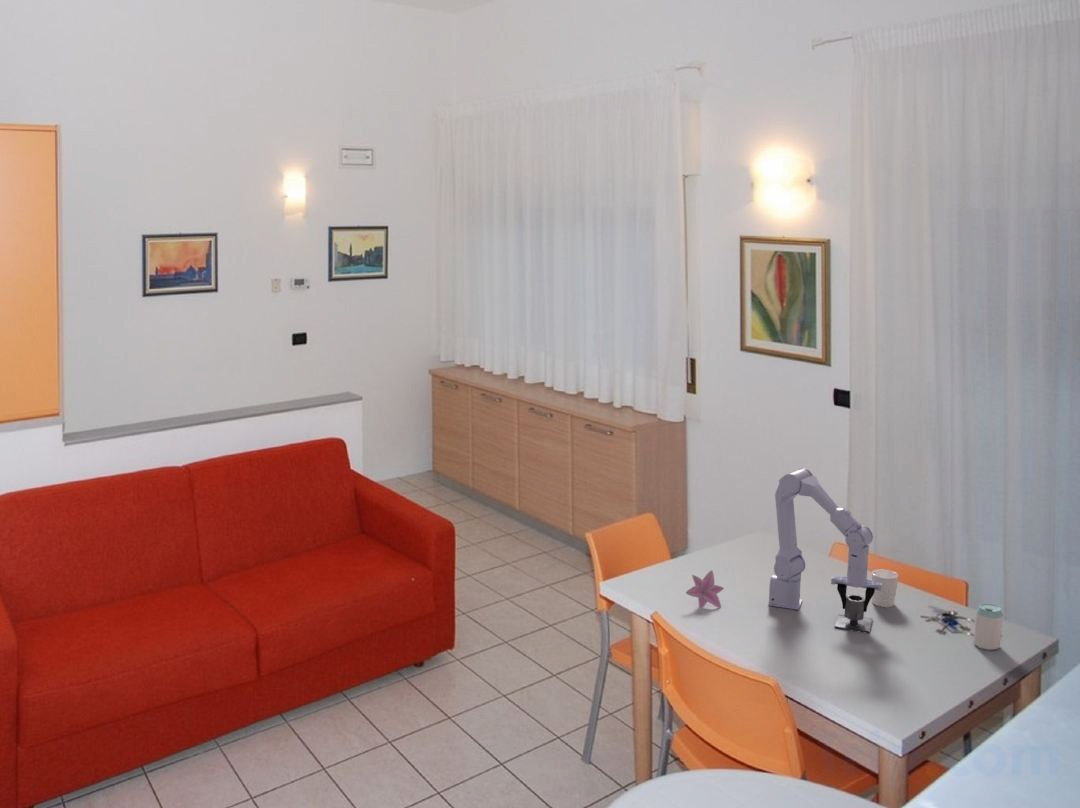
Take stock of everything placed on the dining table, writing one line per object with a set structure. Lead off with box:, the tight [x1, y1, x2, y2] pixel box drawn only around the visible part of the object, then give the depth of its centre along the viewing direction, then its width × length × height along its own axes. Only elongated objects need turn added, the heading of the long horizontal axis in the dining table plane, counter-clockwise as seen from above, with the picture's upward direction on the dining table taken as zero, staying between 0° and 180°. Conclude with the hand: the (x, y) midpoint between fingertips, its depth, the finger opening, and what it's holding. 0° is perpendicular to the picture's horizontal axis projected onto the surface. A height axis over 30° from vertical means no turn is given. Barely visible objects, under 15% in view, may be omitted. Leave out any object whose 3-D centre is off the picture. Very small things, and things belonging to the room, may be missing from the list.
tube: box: [844, 593, 865, 621], centre depth 305 cm, size 5×5×6 cm
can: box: [972, 603, 1004, 651], centre depth 290 cm, size 7×7×12 cm
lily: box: [685, 570, 725, 610], centre depth 321 cm, size 12×12×10 cm
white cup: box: [871, 568, 899, 608], centre depth 321 cm, size 8×8×10 cm
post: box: [834, 613, 873, 634], centre depth 306 cm, size 10×10×6 cm
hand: (854, 609), depth 305 cm, fingers closed on tube, 5 cm apart
